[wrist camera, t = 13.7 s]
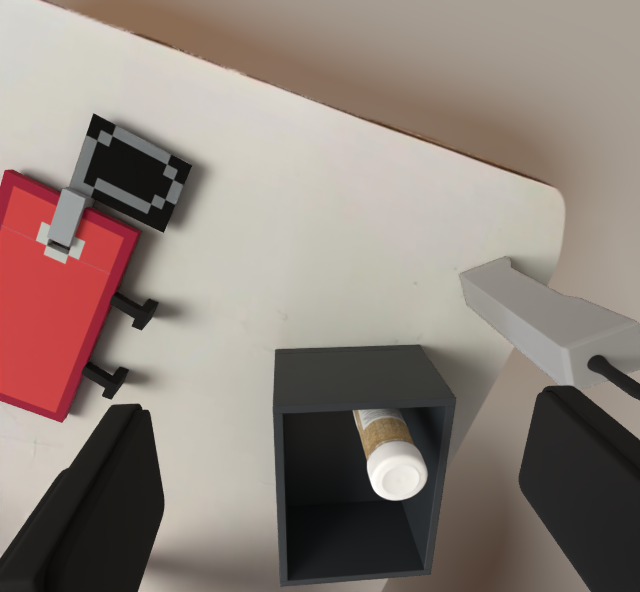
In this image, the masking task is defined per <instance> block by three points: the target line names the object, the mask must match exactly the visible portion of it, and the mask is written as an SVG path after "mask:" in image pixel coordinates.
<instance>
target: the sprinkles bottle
mask: <svg viewBox="0 0 640 592" xmlns="http://www.w3.org/2000/svg"><path fill="white" fill-rule="evenodd" d="M353 414H354V418H355V422H356V425H357V429H358V431H359V434H360V437H361V441H362V445H363V448H364V451H365V455H366V459H367V471H368V475H369V478H370V482H371V485H372V487H373V489H374V491H375V492H376V493H377V494H378V495H379V496H381V497H383V498H385V499H388V500H404V499H407V498H410V497H412V496H414V495H415V494H417V493H418V492H419V491H420V490H421V489H422V488H423V487H424V485H425V483H426V481H427V476H428V472H427V468H426V465H425V462H424V460H423V458H422V455H421V453H420V451H419V450H418V449H417V448H416V446H415V445H414V443H413V441H412V438H411V436H410V434H409V431H408V428H407V425H406V423H405V421H404V419H403V417H402V414H401V412H400V410H399V408H391V409H370V410H353Z"/></svg>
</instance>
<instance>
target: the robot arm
mask: <svg viewBox="0 0 640 592" xmlns="http://www.w3.org/2000/svg"><path fill="white" fill-rule="evenodd" d="M519 485H520V488H521V491H522V493H523V494H524V496H525V497H526V499H527V500H528V502H529V503H530V504H531V506H532V507H533V509H534V510H535V512H536V513H537V514H538V516H539V517H540V519H541V520H542V522H543V523H544V524H545V526H546V528H547V529H548V531H549V532H550V533H551V535H552V536H553V538H554V539H555V541H556V542H557V544H558V545H559V546H560V548H561V549H562V551H563V552H564V554H565V555H566V557H567V558H568V559H569V561H570V562H571V564H572V565H573V567H574V568H575V569H576V571H577V572H578V574H579V575H580V577H581V578H582V580H583V581H584V582H585V584H586V585H587V587H588V588H589V590H590V591H591V592H640V440H639V439H638V438H637V437H635V436H634V435H633V434H632V433H631V432H629V431H628V430H627V429H626V428H624V427H623V426H622V425H621V424H619V423H618V422H617V421H616V420H615V419H613V418H612V417H611V416H610V415H608V414H607V413H606V412H605V411H604V410H603V409H601V408H600V407H599V406H597V405H596V404H595V403H594V402H593V401H591V400H590V399H589V398H588V397H587V396H585V395H584V394H583V393H582V392H581V391H579V390H578V389H577V388H575V387H574V386H571V385H561V386H547V387H545V388H544V389H543V391H542V392H541V393H539V394H538V395H537V398H536V402H535V407H534V411H533V415H532V420H531V424H530V429H529V433H528V438H527V442H526V447H525V451H524V456H523V460H522V464H521V469H520V473H519ZM163 512H164V493H163V487H162V481H161V475H160V469H159V463H158V457H157V451H156V445H155V439H154V433H153V427H152V421H151V415H150V412H149V410H142V407H141V405H140V404H118V405H112V406H111V407H110V408H109V409H108V410H107V412H106V413H105V415H104V416H103V418H102V419H101V421H100V422H99V424H98V425H97V427H96V428H95V430H94V431H93V433H92V434H91V436H90V437H89V439H88V440H87V442H86V443H85V445H84V446H83V448H82V449H81V450H80V452H79V453H78V455H77V456H76V458H75V459H74V461H73V462H72V464H71V465H70V467H69V468H67V469H65V470H63V471H62V472H61V473H60V474H59V475H58V476H57V477H56V479H55V480H54V482H53V483H52V485H51V486H50V487H49V489H48V490H47V492H46V493H45V495H44V496H43V498H42V499H41V500H40V502H39V503H38V505H37V506H36V508H35V509H34V511H33V512H32V513H31V515H30V516H29V518H28V519H27V521H26V522H25V524H24V525H23V526H22V528H21V529H20V531H19V532H18V534H17V535H16V537H15V538H14V539H13V541H12V542H11V544H10V545H9V547H8V548H7V550H6V551H5V552H4V554H3V555H2V557H1V558H0V592H138V590H139V586H140V583H141V580H142V577H143V574H144V571H145V568H146V565H147V562H148V559H149V556H150V553H151V550H152V547H153V544H154V541H155V538H156V535H157V532H158V529H159V526H160V523H161V520H162V517H163Z"/></svg>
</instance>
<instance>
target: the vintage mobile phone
mask: <svg viewBox="0 0 640 592" xmlns="http://www.w3.org/2000/svg"><path fill="white" fill-rule="evenodd" d="M459 276H460V280H461V284H462V288H463V292H464V296H465V300H466V304H467V306H468V307H470V308H471V309H472V310H473V311H474V312H475V313H477V314H478V315H479V316H480V317H481V318H482V319H484V320H485V321H486V322H487V323H488V324H489V325H491V326H492V327H493V328H494V329H495V330H496V331H498V332H499V333H500V334H501V335H502V336H503V337H505V338H506V339H507V340H508V341H509V342H510V343H511V344H513V345H514V346H515V347H516V348H517V349H519V350H520V351H521V352H522V353H523V354H524V355H525V356H527V357H528V358H529V359H530V360H532V362H534V363H535V364H536V365H537V366H538V367H539V368H541V369H542V370H543V371H544V372H545V373H546V374H547V375H549V376H550V377H551V378H552V379H553V380H554V381H556V382H557V383H558V384H559V385H560V386H561V385H571V386H574V387H575V388H577V389H578V390H579V391H580V390H583V389H586V388H589V387H591V386H595V385H597V384H600V383H603V382H606V381H611V382H612V383H614V384H615V385H616V386H618V387H619V388H621V389H622V390H623V391H625V392H626V393H628V394H629V395H630V396H632V397H634V398H636V399H638V400H640V384H639V383H638V382H636V381H635V380H633V379H632V378H630V377H628V376H627V375H626V374H628V373H631V372H634V371H637V370H640V324H639V323H638V322H637V321H635V320H633V319H630V318H628V317H626V316H623V315H621V314H618V313H616V312H613V311H611V310H609V309H606V308H604V307H601V306H599V305H596V304H594V303H591V302H589V301H587V300H584V299H582V298H576V297H571V296H564V295H562V294H560V293H558V292H556V291H554V290H553V289H551V288H549V287H547V286H545V285H543V284H541V283H539V282H537V281H535V280H534V279H532V278H530V277H528V276H526V275H524V274H522V273H520V272H518V271H516V270H515V269H513V268H512V265H511V260H510V259H509V258H507V257H502V258H500V259H497V260H494V261H492V262H489V263H486V264H484V265H481V266H478V267H476V268H473V269H470V270H468V271H465V272H462V273H460V274H459Z"/></svg>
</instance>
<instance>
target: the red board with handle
mask: <svg viewBox="0 0 640 592" xmlns="http://www.w3.org/2000/svg"><path fill="white" fill-rule="evenodd" d="M191 167H192V165H190V164H188V163H186V162H184V161H183V160H181V159H179V158H177V157H175V156H173V155H171V154H169V153H167V152H166V151H164V150H162V149H160V148H158V147H156V146H154V145H152V144H151V143H149V142H147V141H145V140H143V139H141V138H139V137H137V136H135V135H134V134H132V133H130V132H128V131H126V130H124V129H122V128H120V127H118V126H117V125H115V124H113V123H111V122H109V121H107V120H105V119H103V118H101V117H100V116H98V115H96V114H94V113H93V116H92V119H91V122H90V125H89V128H88V131H87V134H86V137H85V140H84V143H83V146H82V149H81V152H80V155H79V158H78V161H77V164H76V167H75V170H74V173H73V176H72V179H71V182H70V185H69V187H66V188H63V189H62V192H61V193H60V192H58V191H56V190H54V189H52V188H50V187H48V186H46V185H44V184H42V183H40V182H37V181H35V180H33V179H31V178H29V177H27V176H25V175H23V174H21V173H19V172H17V171H14V170H5V171H4V175H3V179H2V182H1V186H0V401H2V402H5V403H8V404H11V405H13V406H16V407H19V408H22V409H25V410H27V411H30V412H33V413H36V414H39V415H41V416H44V417H47V418H50V419H53V420H56V421H58V422H61V423H62V422H63V421H64V420H65V419H66V417H67V415H68V413H69V410H70V408H71V405H72V403H73V400H74V398H75V395H76V393H77V390H78V388H79V385H80V383H81V380H82V378H83V375H84V376H86V377H88V378H89V379H91V380H93V381H94V382H96V383H98V384H99V385H101V386H102V387H104V388H105V390H104V392H103V394H102V396H103V397H105V398H108V399H112V398H113V397H114V395H115V394H116V392H117V391H118V390H119V388H120V387H121V386H122V384H123V382H124V380H125V377H126V375H127V373H128V371H129V370H128V369H125V368H123V367H119V368H118V370H117V371H116V372H115V373H114V375H113V376H112V375H111V374H109V373H107V372H106V371H104V370H102V369H101V368H99V367H97V366H96V365H94V364H93V363H91V362H89V361H90V358H91V356H92V353H93V351H94V348H95V346H96V343H97V341H98V338H99V336H100V333H101V331H102V328H103V326H104V323H105V321H106V318H107V316H108V313H109V311H110V308H111V306H112V305H113V306H114V307H116V308H118V309H119V310H121V311H123V312H124V313H126V314H128V315H129V316H131V317H133V318H134V319H135V320H134V322H133V324H132V327H134V328H137V329H139V330H142V329H143V328H144V327H145V326H146V325H147V323H148V322H149V321H150V320H151V318H152V316H153V314H154V312H155V310H156V307H157V305H158V302H156V301H153V300H151V299H148V300H147V302H146V303H145V304H144V305H143V306H140V305H139V304H137V303H135V302H134V301H132V300H130V299H129V298H127V297H125V296H124V295H122V294H120V293H119V292H117V291H118V289H119V286H120V284H121V281H122V279H123V276H124V274H125V271H126V269H127V266H128V264H129V261H130V259H131V256H132V254H133V251H134V249H135V246H136V244H137V242H138V239H139V237H140V234H141V232H142V231H140V230H138V229H136V228H134V227H132V226H129V225H127V224H125V223H123V222H121V221H119V220H117V219H115V218H113V217H111V216H109V215H106V214H104V213H102V212H100V211H98V210H96V209H94V208H92V206H93V203H94V200H97V201H99V202H101V203H103V204H105V205H107V206H109V207H111V208H113V209H115V210H117V211H119V212H122V213H124V214H126V215H128V216H130V217H132V218H134V219H136V220H138V221H140V222H142V223H144V224H146V225H148V226H150V227H153V228H155V229H157V230H159V231H161V232H163V233H164V231H165V229H166V226H167V224H168V222H169V219H170V217H171V214H172V212H173V210H174V207H175V205H176V203H177V200H178V198H179V195H180V193H181V191H182V188H183V186H184V184H185V181H186V179H187V176H188V174H189V172H190V169H191ZM53 241H56V242H58V243H60V244H63V245H65V246H67V247H70V246H71V249H70V251H69V250H67V249H65V248H63V247H60V246H58V245H56V244H54V243H53Z"/></svg>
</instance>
